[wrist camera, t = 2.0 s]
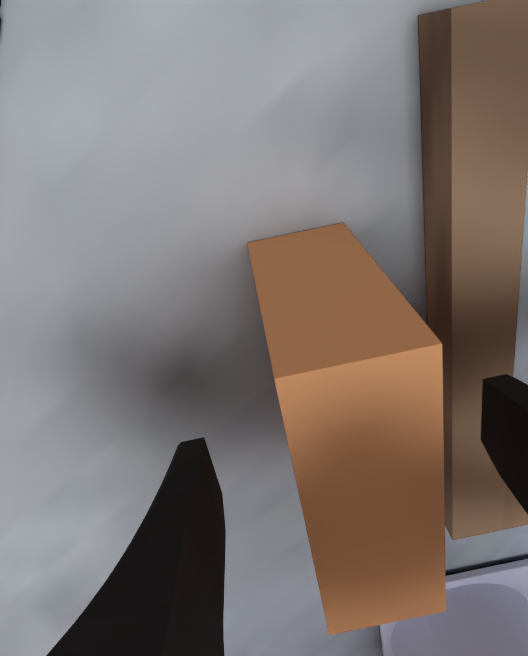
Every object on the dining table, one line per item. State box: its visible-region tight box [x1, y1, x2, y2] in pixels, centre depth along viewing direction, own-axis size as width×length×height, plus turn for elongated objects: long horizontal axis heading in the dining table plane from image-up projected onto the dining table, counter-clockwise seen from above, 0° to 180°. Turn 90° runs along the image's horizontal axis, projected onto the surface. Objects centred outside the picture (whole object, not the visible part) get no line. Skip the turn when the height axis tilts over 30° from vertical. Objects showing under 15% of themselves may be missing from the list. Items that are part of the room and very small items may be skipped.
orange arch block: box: [247, 223, 446, 635], centre depth 14 cm, size 8×3×7 cm, turn 11°
